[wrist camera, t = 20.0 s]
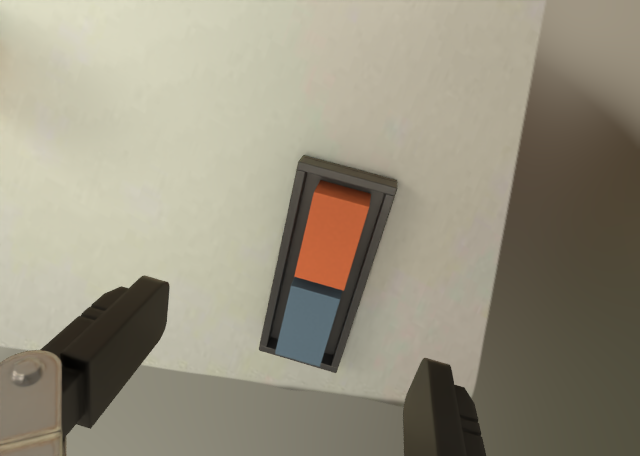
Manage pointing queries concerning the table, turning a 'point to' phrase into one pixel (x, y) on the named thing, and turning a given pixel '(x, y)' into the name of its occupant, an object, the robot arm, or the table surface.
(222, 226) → the table surface
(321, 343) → the seated pad
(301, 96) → the table surface
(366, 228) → the frame
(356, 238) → the orange block
